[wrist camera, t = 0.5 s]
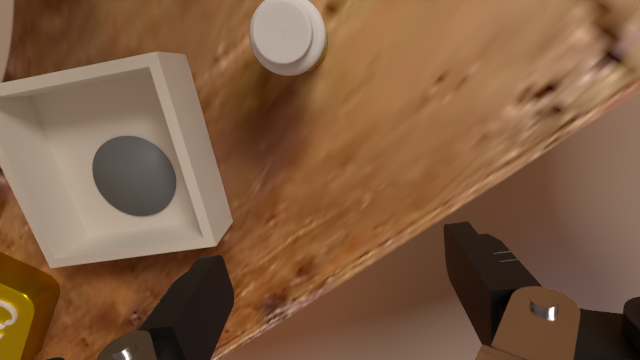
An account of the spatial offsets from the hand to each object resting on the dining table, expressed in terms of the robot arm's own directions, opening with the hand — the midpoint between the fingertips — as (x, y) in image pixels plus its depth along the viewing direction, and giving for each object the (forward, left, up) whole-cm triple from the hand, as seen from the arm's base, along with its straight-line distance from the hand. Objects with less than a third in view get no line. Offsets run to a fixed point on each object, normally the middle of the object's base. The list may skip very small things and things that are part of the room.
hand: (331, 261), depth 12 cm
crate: (-1, -22, -23) cm, 32 cm away
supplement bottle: (-9, -2, -24) cm, 25 cm away
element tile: (+14, -47, -24) cm, 55 cm away
